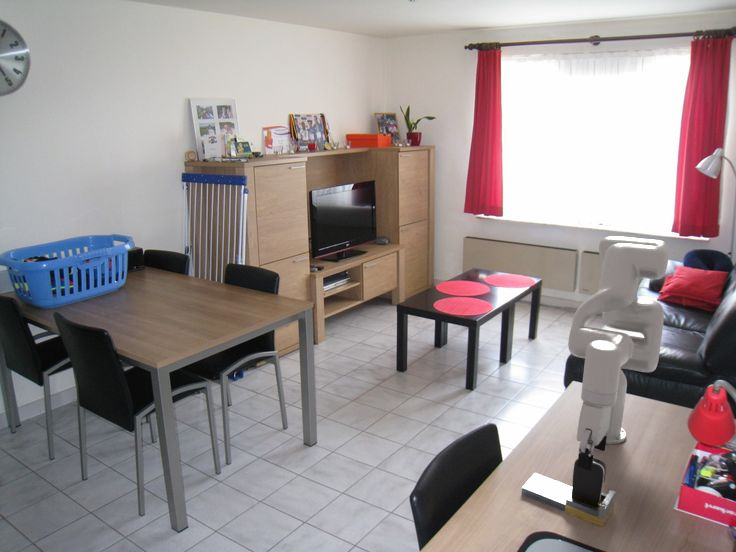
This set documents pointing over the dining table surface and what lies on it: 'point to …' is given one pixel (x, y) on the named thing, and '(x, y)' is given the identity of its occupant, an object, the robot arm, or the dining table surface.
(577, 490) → the battery charger
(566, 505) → the grey and yellow block
